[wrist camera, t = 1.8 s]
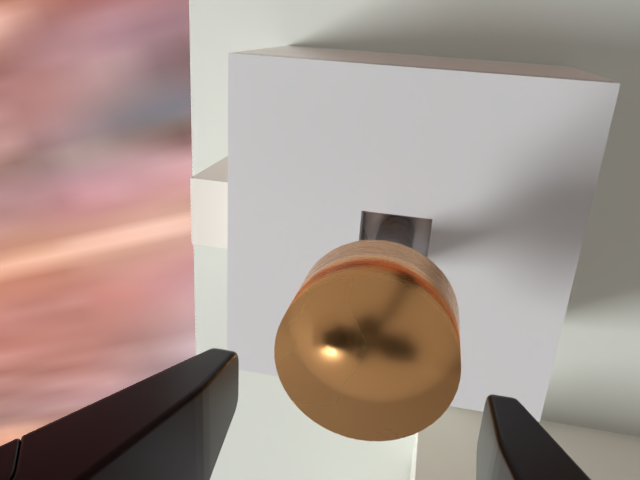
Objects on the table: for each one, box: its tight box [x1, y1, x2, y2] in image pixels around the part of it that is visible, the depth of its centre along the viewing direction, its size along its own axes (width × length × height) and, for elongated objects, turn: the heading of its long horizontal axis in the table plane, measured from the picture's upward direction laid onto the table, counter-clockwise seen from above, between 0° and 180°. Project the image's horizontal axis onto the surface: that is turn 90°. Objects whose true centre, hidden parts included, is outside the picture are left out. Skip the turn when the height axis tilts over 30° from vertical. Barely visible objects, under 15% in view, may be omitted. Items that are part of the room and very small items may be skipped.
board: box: [189, 0, 640, 480], centre depth 22 cm, size 22×27×1 cm
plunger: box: [274, 211, 461, 441], centre depth 13 cm, size 7×7×7 cm
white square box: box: [190, 45, 620, 422], centre depth 18 cm, size 10×9×6 cm
